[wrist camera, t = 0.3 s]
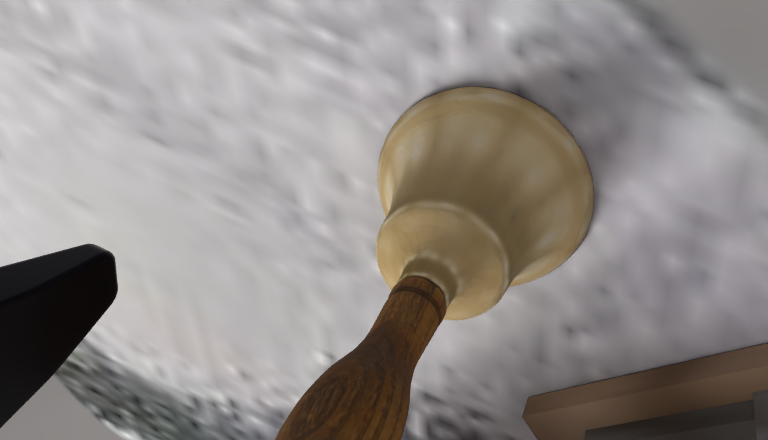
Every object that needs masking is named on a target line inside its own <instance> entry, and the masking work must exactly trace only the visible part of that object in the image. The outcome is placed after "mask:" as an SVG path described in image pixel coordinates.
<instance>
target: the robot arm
mask: <svg viewBox="0 0 768 440" xmlns="http://www.w3.org/2000/svg"><path fill="white" fill-rule="evenodd" d="M117 291H118V283H117V273H116V263H115V257H114V255H113V254H112V253H111V252H110V251H107V250H105V249H103V248H101V247H99V246H97V245H94V244H85V245H81V246H77V247H73V248H70V249H66V250H62V251H58V252H55V253H51V254H47V255H43V256H40V257H36V258H32V259H29V260H25V261H21V262H17V263H14V264H10V265H6V266H2V267H0V428H1V427H2V426H3V425H4V424H5V423H6V422H7V421H8V420H9V419H10V418H11V417H12V416H13V415H14V414H15V413H16V412H17V411H18V410H19V409H20V408H21V407H22V406H23V405H24V404H25V402H27V401H28V400H29V399H30V398H31V397H32V396H33V395H34V394H35V393H36V392H37V391H38V390H39V389H40V388H41V387H42V386H43V385H44V384H45V383H46V382H47V381H48V380H49V378H50V377H51V376H52V375H53V374H54V373H55V372H56V371H57V370H58V369H59V367H60V366H61V365H62V364H63V363H64V362H65V360H66V359H67V358H68V357H69V355H70V354H71V353H72V352H73V351H74V349H75V348H76V347H77V346H78V344H79V343H80V342H81V341H82V340H83V338H84V337H85V336H86V335H87V333H88V332H89V331H90V330H91V329H92V327H93V326H94V325H95V324H96V322H97V321H98V320H99V319H100V318H101V316H102V315H103V314H104V313H105V311H106V310H107V309H108V308H109V307H110V305H111V304H112V303H113V301H114V299H115V297H116V295H117Z"/></svg>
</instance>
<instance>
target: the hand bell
mask: <svg viewBox="0 0 768 440" xmlns="http://www.w3.org/2000/svg"><path fill="white" fill-rule="evenodd" d="M378 187H379V194H380V199H381V203H382V206H383V210H384V212H385V215H386V219H385V220H384V222H383V224H382V226H381V228H380V231H379V233H378V236H377V243H376V256H377V262H378V266H379V269H380V272H381V274H382V276H383V278H384V280H385V282H386V283H387V285H388V286H389V287H390V289H391V290H392V291H391V293H390V295H389V298H388V300H387V301H386V303H385V305H384V306H383V308H382V310H381V312H380V314H379V316H378V317H377V319H376V321H375V323H374V325H373V327H372V328H371V330H370V332H369V333H368V335H367V336H366V337H365V339H364V340H363V341H362V342H361V343H360V344H359V345H358V346H357V347H356V348H355V349H354V350H353V351H351V352H350V353H349V354H347V355H346V356H344V357H343V358H342V359H340V360H339V361H337V362H336V363H335V364H333V365H332V366H331V367H330V368H329V369H328V370H326V371H325V372H324V373H323V374H322V375H321V376H320V377H319V378H318V379H317V380H316V381H315V382H314V384H313V385H312V386H311V387H310V388H309V389H308V390H307V391H306V392H305V394H304V395H303V396H302V397H301V399H300V400H299V401H298V403H297V404H296V406H295V407H294V409H293V410H292V412H291V413H290V415H289V416H288V418H287V419H286V421H285V422H284V424H283V426H282V427H281V429H280V431H279V433H278V435H277V437H276V438H275V440H401V438H402V435H403V432H404V428H405V424H406V419H407V415H408V410H409V402H410V388H411V381H412V377H413V373H414V369H415V367H416V365H417V362H418V360H419V359H420V357H421V355H422V353H423V352H424V350H425V348H426V346H427V345H428V343H429V341H430V340H431V338H432V336H433V335H434V333H435V331H436V330H437V327H438V326H439V325H440V323H441V322H442V320H443V319H444V320H464V319H469V318H473V317H475V316H478V315H481V314H483V313H485V312H486V311H488V310H489V309H491V308H492V307H493V306H495V305H496V304H497V303H498V302H499V300H500V299H501V298H502V296H503V295H504V293H505V292H506V290H507V288H508V287H509V286H515V285H520V284H523V283H527V282H530V281H533V280H535V279H538V278H540V277H542V276H544V275H546V274H548V273H550V272H552V271H553V270H555V269H556V268H558V267H559V266H560V265H561V264H563V263H564V262H565V261H566V260H567V259H568V258H569V257H570V256H571V255H572V254H573V253H574V252H575V251H576V249H577V248H578V246H579V245H580V243H581V242H582V241H583V239H584V237H585V235H586V233H587V230H588V228H589V225H590V222H591V218H592V213H593V206H594V189H593V182H592V177H591V173H590V170H589V167H588V164H587V162H586V159H585V157H584V155H583V153H582V151H581V149H580V147H579V146H578V144H577V143H576V141H575V139H574V138H573V136H572V135H571V134H570V133H569V131H568V130H567V129H566V128H565V127H564V126H563V125H562V124H561V123H560V122H559V121H558V120H557V119H556V118H555V117H554V116H553V115H551V114H550V113H549V112H547V111H546V110H544V109H543V108H541V107H540V106H538V105H536V104H535V103H533V102H531V101H529V100H527V99H525V98H522V97H520V96H518V95H515V94H513V93H510V92H506V91H502V90H498V89H493V88H484V87H462V88H456V89H451V90H446V91H443V92H440V93H437V94H435V95H432V96H430V97H428V98H425V99H423V100H422V101H420V102H418V103H417V104H415V105H414V106H412V107H411V108H410V109H408V110H407V111H406V113H405V114H403V115H402V116H401V117H400V118H399V119H398V121H397V122H396V123H395V124H394V126H393V127H392V129H391V131H390V132H389V134H388V135H387V137H386V140H385V142H384V145H383V147H382V150H381V153H380V158H379V165H378Z"/></svg>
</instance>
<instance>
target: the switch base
mask: <svg viewBox="0 0 768 440" xmlns="http://www.w3.org/2000/svg"><path fill="white" fill-rule="evenodd" d="M522 417H523V418H524V420H525V421H526V423H527V424H528V426H529V427H530V429H531V430H532V432H533V433H534V435H535V436H536V438H537V439H538V440H768V343H766V344H761V345H757V346H752V347H748V348H744V349H739V350H735V351H730V352H726V353H722V354H717V355H713V356H708V357H704V358H700V359H695V360H691V361H686V362H682V363H678V364H673V365H669V366H664V367H660V368H656V369H651V370H647V371H642V372H638V373H634V374H629V375H625V376H620V377H616V378H611V379H607V380H603V381H598V382H594V383H589V384H585V385H581V386H576V387H572V388H567V389H563V390H559V391H554V392H550V393H545V394H541V395H537V396H532V397H528V400H527V403H526V406H525V410H524V413H523V416H522Z"/></svg>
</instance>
